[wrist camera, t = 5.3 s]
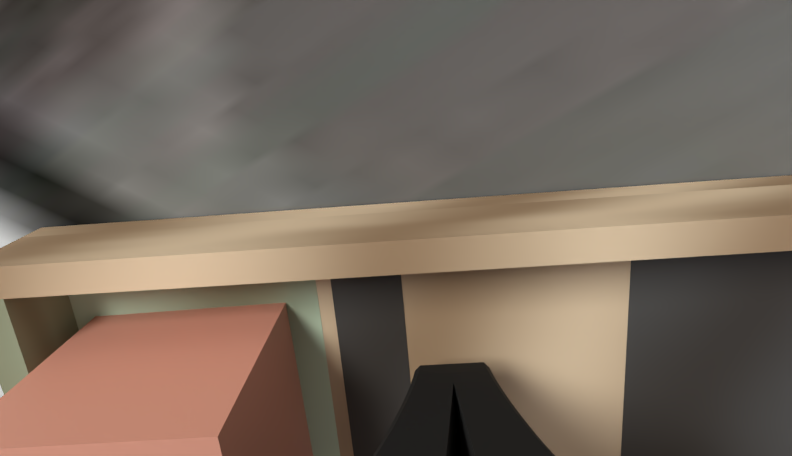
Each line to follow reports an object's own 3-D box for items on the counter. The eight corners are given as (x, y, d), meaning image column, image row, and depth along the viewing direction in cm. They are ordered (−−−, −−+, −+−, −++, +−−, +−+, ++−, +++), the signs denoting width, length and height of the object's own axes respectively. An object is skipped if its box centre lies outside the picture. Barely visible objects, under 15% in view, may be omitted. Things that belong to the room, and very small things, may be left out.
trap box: (851, 171, 11) (956, 204, 9) (795, 485, 13) (867, 570, 11) (41, 227, 12) (-41, 269, 10) (125, 508, 14) (74, 590, 12)
